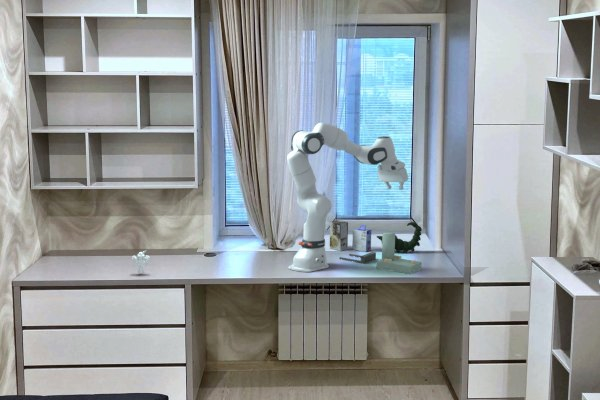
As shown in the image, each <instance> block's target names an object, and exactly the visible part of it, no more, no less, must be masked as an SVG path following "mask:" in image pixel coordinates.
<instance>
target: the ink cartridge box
mask: <svg viewBox="0 0 600 400" xmlns="http://www.w3.org/2000/svg"><path fill="white" fill-rule="evenodd" d="M351 247H352V250H354V251H360V252H369V251H370V252H371V251H372V229H369V228H367V225H364V224H360V227H356V228H353V229H352V244H351Z"/></svg>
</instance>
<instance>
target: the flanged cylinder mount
mask: <svg viewBox="0 0 600 400" xmlns="http://www.w3.org/2000/svg"><path fill="white" fill-rule="evenodd" d="M395 235H396V233H395V232H391V231H390V232H388V231H387V232H383V233H382V235H381V236H382V242H381V259H379V260H376V269H380V270H385V271H392V272H394V273H395V272H397V273H401V274H408V275H412V274H415V273H417V272H419V271H421V270H422V267H423V266H422V263H423V262H422V261H418V260H417V261H416V260H414V259H412V260H411V259H405V258H402V255H398V254H397V255H396V254H395V252H396V250H395ZM414 272H415V273H414Z"/></svg>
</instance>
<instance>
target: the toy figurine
mask: <svg viewBox="0 0 600 400" xmlns="http://www.w3.org/2000/svg"><path fill="white" fill-rule="evenodd" d="M406 226H407V227H409V226H412V227H413V228H415V229H414V230H415V231H413V235H412V238H411V239H410V240H403V239H401V238H398V236H397V235H396V234H395V252H396V253H400V252H401V251H402V252H403V253H404V254H407V253H408V252H409V251H411V252H415V248H416V247H419V246H421V244H420V241H421V239H422V238H421V236H422V230H423V229H422V226H420V225H418V223H416V222H414V221H410V222H409V223H407V224H406ZM376 238H377V239H378V240H380V241H381V243H382V235H377V236H376Z"/></svg>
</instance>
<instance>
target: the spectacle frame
mask: <svg viewBox="0 0 600 400" xmlns="http://www.w3.org/2000/svg"><path fill="white" fill-rule="evenodd" d="M348 256H349V257H353V256H355V257H354V258H359V257H360V258H359V259H360V260H359V259H354V258H349V257H343V256H340V257H338V258H339V260H341V259H342V260H341V261H347V260H348V261H347V262H352V261H353V262H354V263H357V264H358V263H360V264H363V265H365V264H368V263H370V262H371V263H372V262H373V261H375V260H376V261H377V252H375V251H374V252H373V251H370V252H368V253H366V254H363V255H360V254H359V255H358V254H353V253H349V254H348Z"/></svg>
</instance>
